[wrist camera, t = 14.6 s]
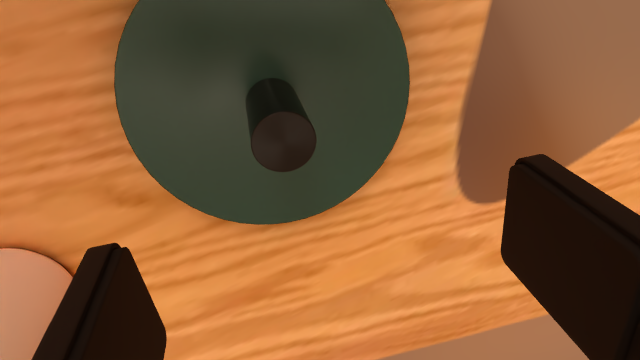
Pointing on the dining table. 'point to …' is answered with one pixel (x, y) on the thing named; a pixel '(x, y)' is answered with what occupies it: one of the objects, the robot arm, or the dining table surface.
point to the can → (28, 300)
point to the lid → (262, 101)
